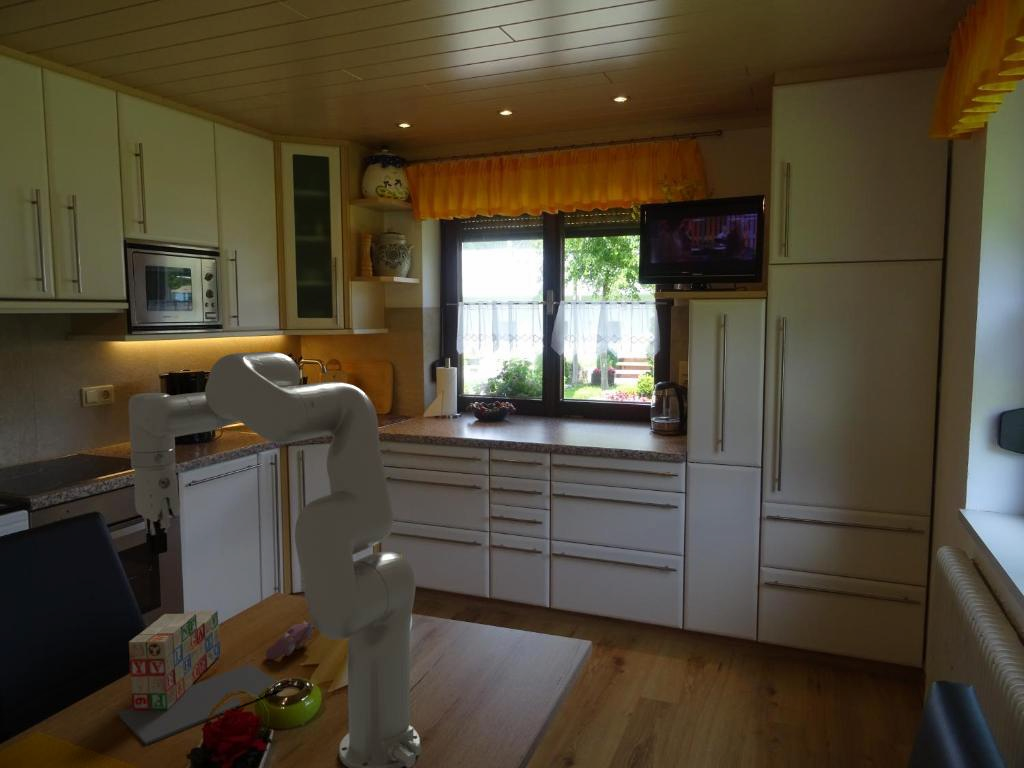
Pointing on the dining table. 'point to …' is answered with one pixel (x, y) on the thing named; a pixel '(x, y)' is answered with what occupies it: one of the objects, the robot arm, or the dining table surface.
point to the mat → (195, 704)
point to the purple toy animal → (290, 640)
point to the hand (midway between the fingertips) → (157, 552)
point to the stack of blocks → (171, 657)
